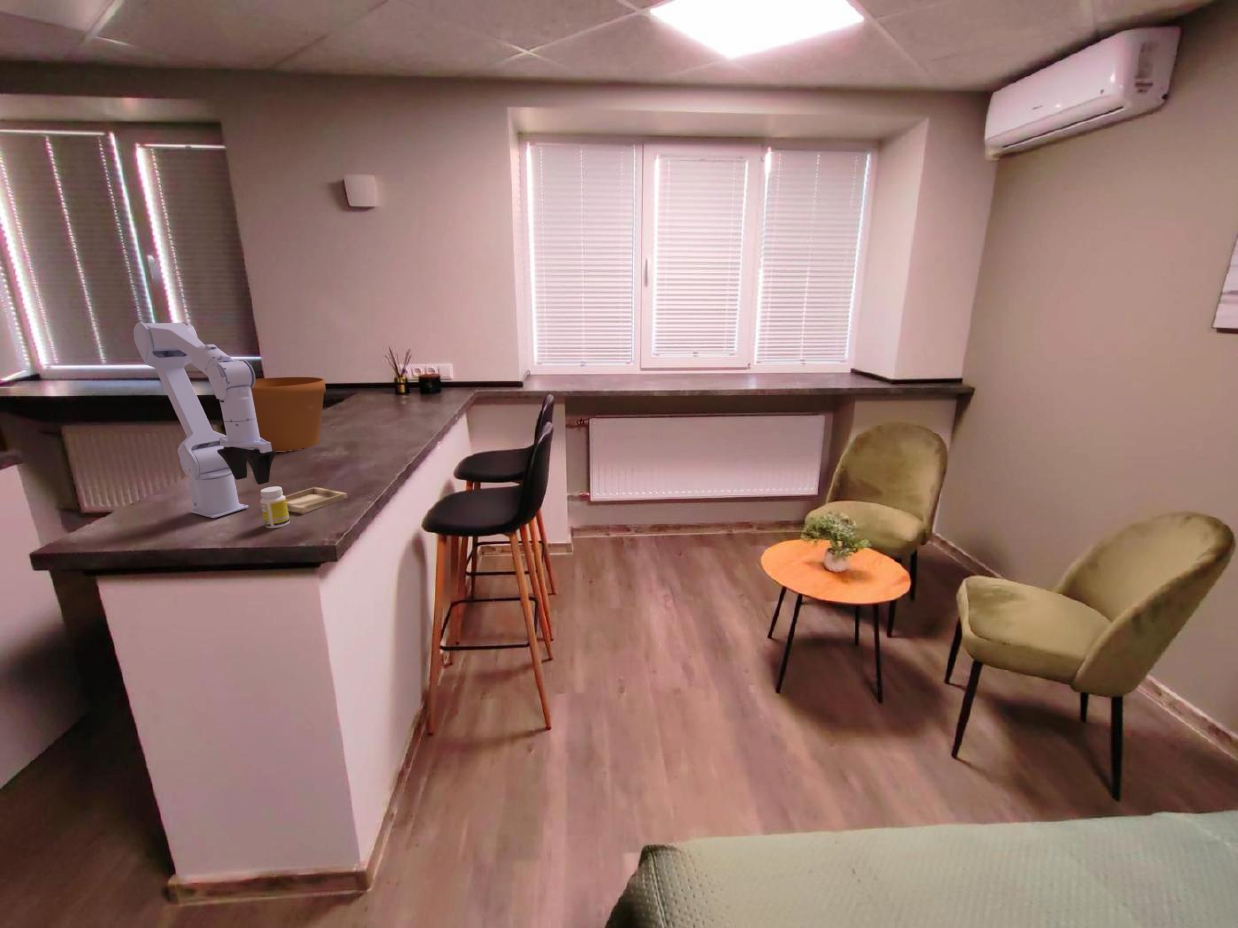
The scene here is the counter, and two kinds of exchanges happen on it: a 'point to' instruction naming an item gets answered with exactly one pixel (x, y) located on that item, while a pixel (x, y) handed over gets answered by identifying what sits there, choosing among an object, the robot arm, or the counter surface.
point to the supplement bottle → (274, 507)
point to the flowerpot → (289, 411)
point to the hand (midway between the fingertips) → (252, 480)
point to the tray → (312, 499)
